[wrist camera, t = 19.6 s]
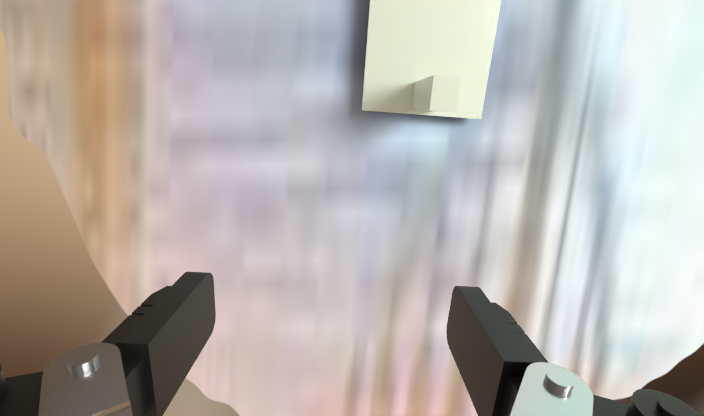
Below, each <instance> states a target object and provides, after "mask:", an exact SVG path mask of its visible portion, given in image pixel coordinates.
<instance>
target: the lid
mask: <svg viewBox="0 0 704 416" xmlns="http://www.w3.org/2000/svg"><path fill="white" fill-rule="evenodd" d="M500 5H501V0H370V6H369V19H368V32H367V46H366V59H365V72H364V85H363V98H362V110H363V111H377V112H390V113H404V114H418V115H431V116H445V117H458V118H472V119H481V115H482V110H483V104H484V98H485V92H486V86H487V80H488V75H489V69H490V63H491V57H492V51H493V46H494V40H495V34H496V28H497V22H498V17H499V11H500Z"/></svg>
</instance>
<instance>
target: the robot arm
mask: <svg viewBox="0 0 704 416" xmlns="http://www.w3.org/2000/svg"><path fill="white" fill-rule="evenodd" d="M214 324H215V298H214V281H213V276H212V274H211V273H202V272H185V273H184V274H183V275H182V276H181V277H180V278H179V279H178V280H177V281H176V282H175V283H174V284H173V285H172V286H166V287H164V288H163V289H161V290H159V291H157V292H155V293H153V294H151V295H150V296H149V297H148V298H147V299H146V300H145V301H144V302H143V303H142V304H141V306H139V307H138V308H137V309H136V310H135V311H134V312H133V313H132V315H129V316H128V317H127V318H126V319H125V320H124V321H123V322H122V323H121V324H120V325H119V326H118V327H117V328H116V329H115V330H114V331H113V332H112V333H111V334H109V336H107V338H105V339H104V340H103V341H102V342H101V343H93V344H88V345H84V346H80V347H77V348H75V349H72V350H70V351H68V352H66V353H64V354H62V355H61V356H59V357H57V358H56V359H55V360H54V361H52V362H51V363H50V364H49V365H48V366H47V367H46V369H45V370H44V372H38V373H33V374H27V375H21V376H15V377H9V378H4V374H3V371H2V367H1V365H0V416H162V415H163V414H164V412H165V411H166V409H167V407H168V406H169V404H170V402H171V401H172V398H173V397H174V396H175V394H176V392H177V390H178V389H179V387H180V386H181V384H182V382H183V381H184V379H185V377H186V376H187V374H188V372H189V371H190V369H191V367H192V366H193V364H194V362H195V361H196V359H197V357H198V356H199V354H200V352H201V351H202V349H203V347H204V346H205V344H206V342H207V341H208V339H209V337H210V336H211V334H212V331H213V328H214ZM447 341H448V345H449V348H450V350H451V352H452V355H453V357H454V360H455V362H456V364H457V367H458V369H459V371H460V374H461V376H462V379H463V381H464V383H465V386H466V388H467V390H468V393H469V395H470V397H471V400H472V402H473V405H474V407H475V409H476V412H477V414H478V416H704V415H703V414H701V413H700V412H699V411H697V410H696V409H695V408H693V407H692V406H690V405H688V404H687V403H685V402H683V401H681V400H680V399H678V398H675V397H673V396H671V395H668V394H666V393H663V392H660V391H656V390H651V389H639V390H637V391H635V392H634V393H633V396H632V398H631V401H630V404H629V405H628V404H624V403H621V402H617V401H614V400H610V399H607V398H603V397H599V396H596V395H593V393H592V391H591V389H590V388H589V386H588V385H587V384H586V383H585V382H584V381H583V380H582V379H581V378H580V377H578V376H577V375H575V374H574V373H572V372H571V371H569V370H567V369H565V368H563V367H560V366H558V365H555V364H551V363H548V361H547V360H546V359H545V358H544V356H543V355H542V354H541V353H540V351H539V350H538V349H537V347H536V346H535V345H534V344H533V342H532V341H531V340H530V339H529V337H528V336H527V335H526V334H524V331H523V330H522V328H521V327H520V326H519V325H517V322H516V321H515V319H514V318H513V317H512V316H511V314H510V313H509V312H508V311H506V310H505V309H503V308H502V307H501V306H499V305H498V304H496V303H491V302H490V301H489V300H488V298H487V297H486V296H485V294H484V293H483V291H482V290H481V289H480V288H479V287H467V286H455V287H454V289H453V293H452V299H451V305H450V311H449V317H448V323H447Z"/></svg>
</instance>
